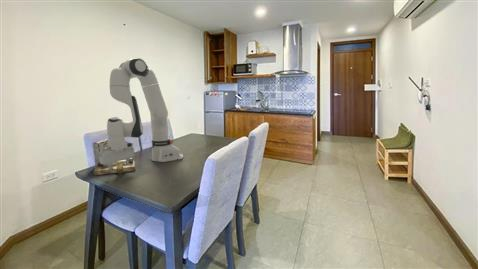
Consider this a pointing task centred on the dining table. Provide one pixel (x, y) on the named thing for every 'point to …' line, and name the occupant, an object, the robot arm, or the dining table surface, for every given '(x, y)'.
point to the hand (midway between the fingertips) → (118, 167)
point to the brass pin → (120, 168)
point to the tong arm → (112, 163)
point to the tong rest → (106, 169)
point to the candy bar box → (97, 147)
